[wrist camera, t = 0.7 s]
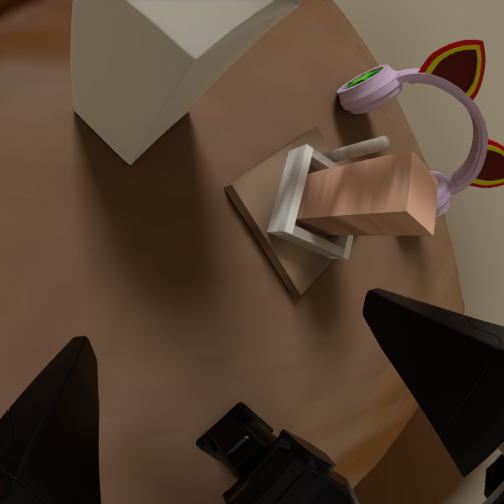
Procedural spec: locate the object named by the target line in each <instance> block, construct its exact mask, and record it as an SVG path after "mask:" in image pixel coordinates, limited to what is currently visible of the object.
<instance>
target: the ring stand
mask: <svg viewBox="0 0 504 504" xmlns="http://www.w3.org/2000/svg"><path fill="white" fill-rule="evenodd" d="M388 149H390V141H389V139H388V138H387V137H386V136H382V137H378V138H374V139H370V140H366V141H363V142H359V143H356V144H352V145H349V146H345V147H342V148H338V149H335V150H331V151H330V149H329V148H328V146H327V144H326V142H325V140H324V138H323V137H322V135H321V133H320V131H319V129H318V128H315V129H312V130H310V131H308V132H306V133H304V134H303V135H301V136H300V137H298V138H296V139H295V140H293V141H292V142H290V143H289V144H287V145H286V146H284V147H282V148H281V149H279V150H278V151H276V152H275V153H273V154H272V155H270V156H269V157H267V158H266V159H264V160H263V161H261V162H260V163H258V164H257V165H255V166H254V167H253V168H251V169H250V170H248V171H247V172H245V173H244V174H242V175H241V176H239V177H238V178H237V179H235V180H234V181H232V182H231V183H229V184H228V185H227V186H225V187H224V188H225V190H226V191H227V193H228V195H229V196H230V198H231V199H232V201H233V202H234V204H235V205H236V207H237V209H238V210H239V212H240V213H241V215H242V216H243V218H244V220H245V221H246V223H247V224H248V226H249V227H250V229H251V230H252V232H253V234H254V235H255V237H256V238H257V240H258V241H259V243H260V245H261V246H262V248H263V249H264V251H265V252H266V254H267V256H268V257H269V259H270V260H271V262H272V264H273V265H274V267H275V268H276V270H277V271H278V273H279V275H280V276H281V278H282V279H283V281H284V283H285V284H286V286H287V287H288V289H289V291H290V292H291V293H293V294H297V295H302V294H303V293H304V292H305V290H306V289H307V288H308V287H309V286H310V285H311V284H312V283H313V282H314V281H315V280H316V279H317V277H318V276H319V275H320V274H321V273H322V272H323V271H324V270H325V269H326V268H327V266H328V265H329V264H330V263H331V262H332V261H333V260H334V259H344V260H348V259H349V255H350V250H351V246H352V241H353V237H354V236H355V235H339V236H322V235H320V234H318V233H316V232H314V231H311V230H309V229H307V228H305V227H303V226H301V225H299V224H297V223H295V222H296V218H297V214H298V210H299V206H300V202H301V198H302V194H303V190H304V186H305V182H306V178H307V174H309V173H313V172H317V171H321V170H325V169H329V168H333V167H337V166H338V165H337V163H336V162H338V161H342V160H346V159H350V158H354V157H358V156H362V155H366V154H371V153H375V152H380V151H384V150H388Z"/></svg>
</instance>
